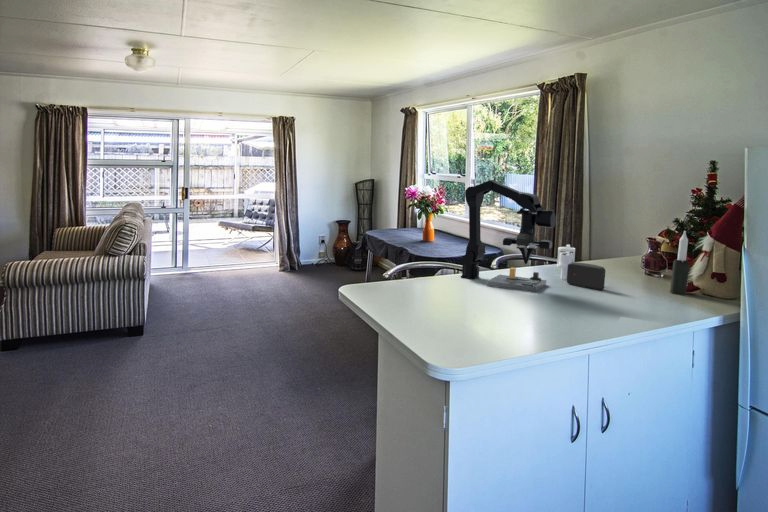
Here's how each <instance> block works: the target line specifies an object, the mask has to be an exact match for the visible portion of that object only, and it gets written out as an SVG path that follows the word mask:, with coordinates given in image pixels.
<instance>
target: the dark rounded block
mask: <svg viewBox="0 0 768 512" xmlns="http://www.w3.org/2000/svg"><path fill="white" fill-rule="evenodd" d="M606 271H607V270H606V268H605V267H603V266H601V265H597V264H592V263H584V262H577V261H576V262H575V261H574V262H573V261H572V262H571V263H569V264H568V269H567V280H566V283H567V284H568V285H572V286H577V287H581V288H587V289H592V290H596V291H597V290H598V291H603V290H604V288H605V283H606V281H605V280H606Z"/></svg>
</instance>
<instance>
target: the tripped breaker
mask: <svg viewBox="0 0 768 512" xmlns="http://www.w3.org/2000/svg"><path fill="white" fill-rule="evenodd" d="M516 270H517V268H516V267H510V268H509V275H508V276H509V277H507V278H506V279H509V280H518V278H517V277H518V276H516V272H517V271H516Z"/></svg>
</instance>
